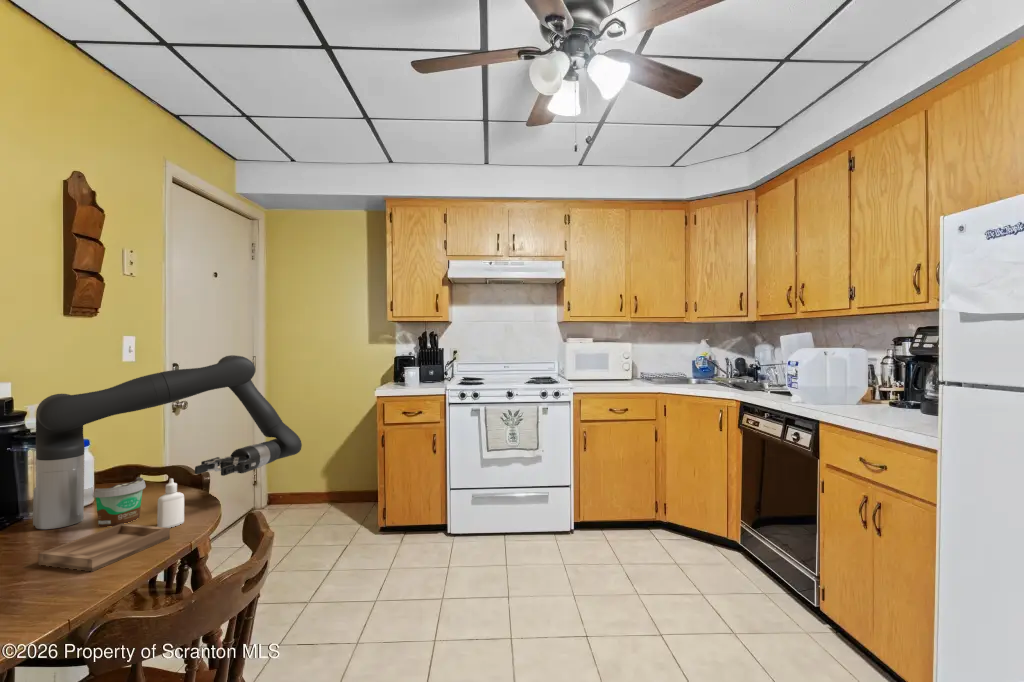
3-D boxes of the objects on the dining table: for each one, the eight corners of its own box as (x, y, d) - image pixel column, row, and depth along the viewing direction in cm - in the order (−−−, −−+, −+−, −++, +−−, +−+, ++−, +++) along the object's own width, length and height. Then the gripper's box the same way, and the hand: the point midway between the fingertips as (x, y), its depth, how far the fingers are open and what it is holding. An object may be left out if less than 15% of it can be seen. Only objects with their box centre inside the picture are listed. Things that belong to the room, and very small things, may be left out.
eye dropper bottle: (183, 526, 127) (184, 479, 127) (156, 530, 124) (157, 482, 125) (184, 521, 131) (184, 475, 131) (158, 525, 128) (158, 478, 128)
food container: (112, 531, 124) (113, 490, 124) (92, 529, 125) (93, 489, 125) (157, 514, 136) (157, 477, 136) (138, 512, 137) (138, 476, 137)
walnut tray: (38, 565, 105) (38, 553, 105) (121, 533, 122) (122, 523, 122) (92, 571, 102) (92, 559, 102) (169, 538, 119) (169, 528, 119)
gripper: (230, 444, 157) (187, 456, 141) (270, 446, 154) (230, 459, 138) (231, 468, 157) (187, 483, 141) (270, 471, 154) (230, 486, 138)
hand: (208, 471), depth 139 cm, fingers open, 8 cm apart
